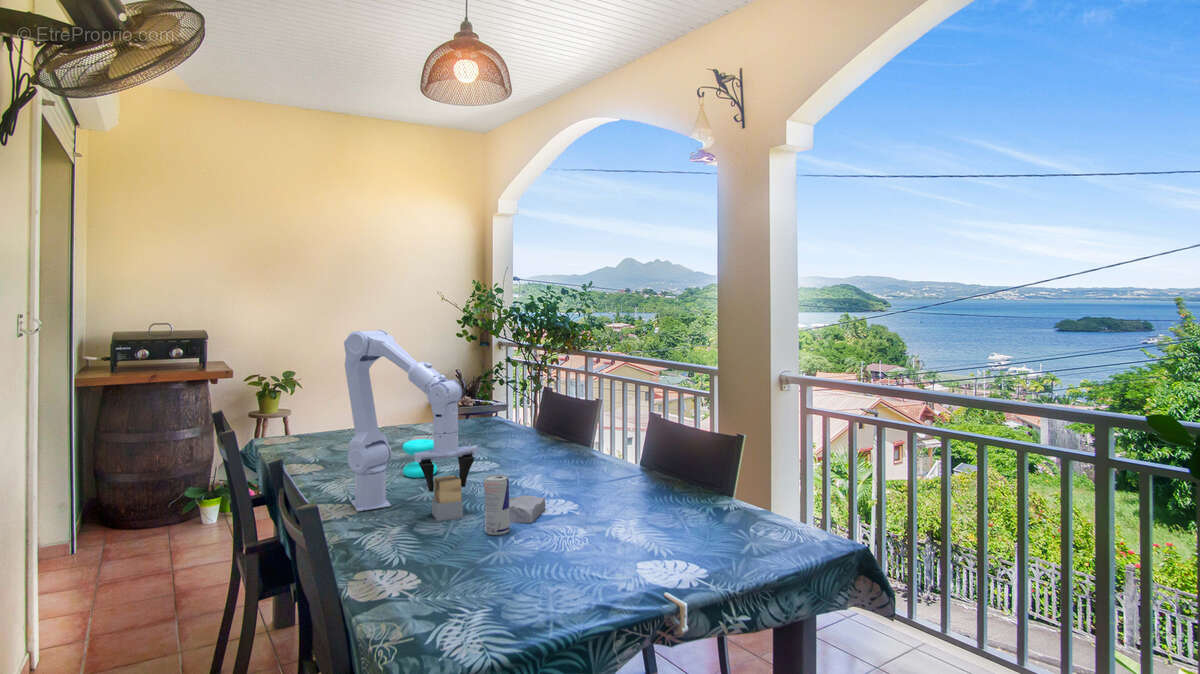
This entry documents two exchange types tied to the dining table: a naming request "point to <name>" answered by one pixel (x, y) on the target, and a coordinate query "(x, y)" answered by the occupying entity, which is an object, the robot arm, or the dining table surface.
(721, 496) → the dining table surface
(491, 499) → the energy drink
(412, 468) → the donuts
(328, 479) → the dining table surface
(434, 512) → the grey block
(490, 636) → the dining table surface
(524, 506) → the stone block
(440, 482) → the wooden cube
